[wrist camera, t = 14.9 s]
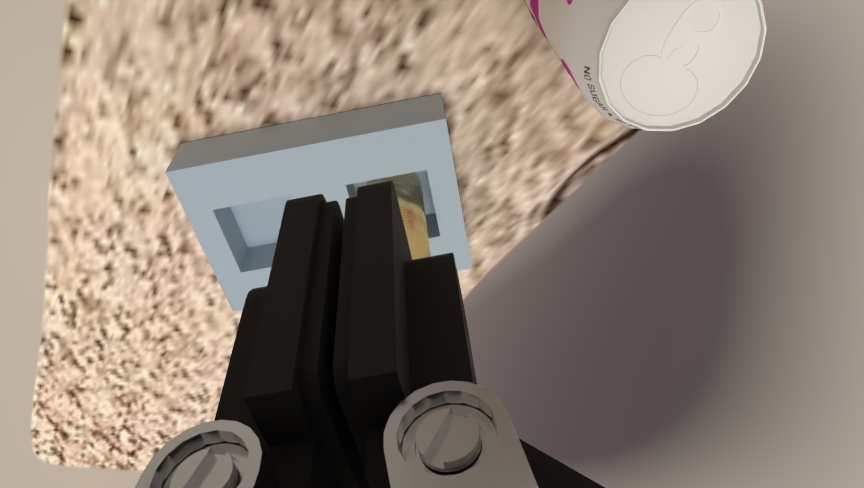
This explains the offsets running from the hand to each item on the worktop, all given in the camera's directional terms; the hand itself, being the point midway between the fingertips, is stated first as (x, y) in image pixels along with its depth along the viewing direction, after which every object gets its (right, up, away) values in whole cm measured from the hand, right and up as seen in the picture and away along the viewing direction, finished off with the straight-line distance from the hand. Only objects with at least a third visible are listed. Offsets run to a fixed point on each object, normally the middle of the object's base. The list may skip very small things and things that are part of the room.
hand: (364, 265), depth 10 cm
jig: (-6, +4, +36) cm, 37 cm away
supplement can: (+10, +17, +28) cm, 35 cm away
